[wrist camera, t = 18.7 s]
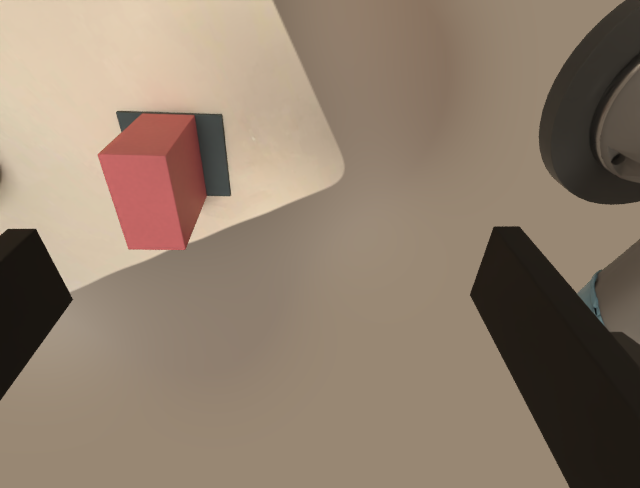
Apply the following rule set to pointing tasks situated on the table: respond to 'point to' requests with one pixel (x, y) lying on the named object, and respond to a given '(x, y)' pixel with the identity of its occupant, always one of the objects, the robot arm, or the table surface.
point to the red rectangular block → (156, 180)
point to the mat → (201, 148)
